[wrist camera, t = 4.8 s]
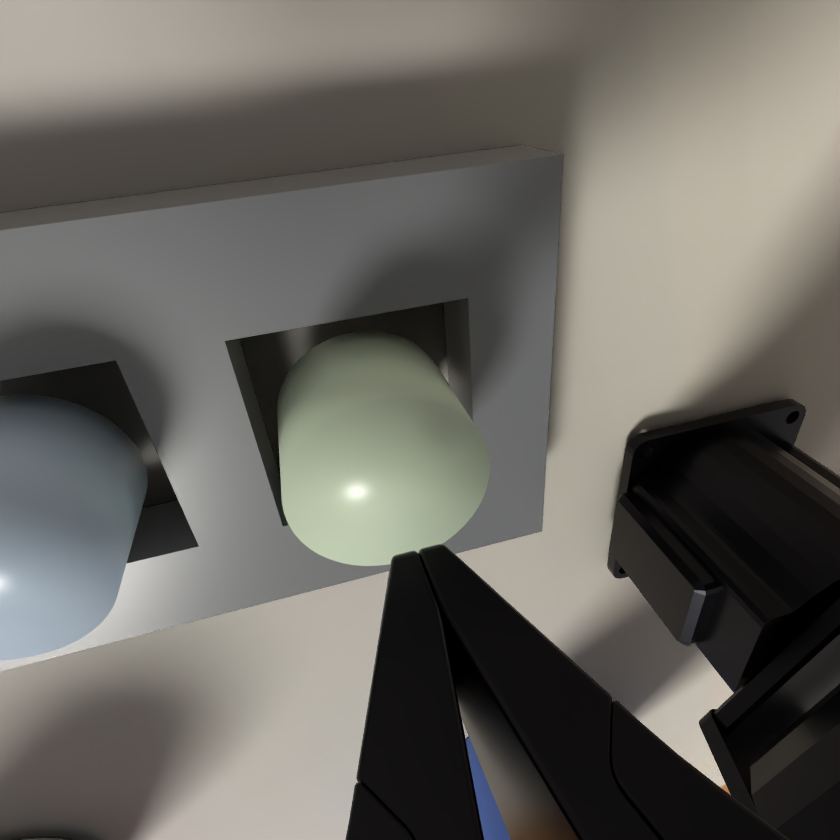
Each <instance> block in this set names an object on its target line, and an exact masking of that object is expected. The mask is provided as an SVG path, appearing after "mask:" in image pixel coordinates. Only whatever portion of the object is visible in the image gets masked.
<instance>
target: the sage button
mask: <svg viewBox="0 0 840 840" xmlns="http://www.w3.org/2000/svg"><path fill="white" fill-rule="evenodd" d="M277 421H278V440H279V458H280V477H281V495H282V506H283V511H284V515H285V517H286V520H287V522H288V525H289V526H290V528H291V529H292V531H293V533H294V534H295V535H296V536H297V537H298V539H299V540H300V541H301V542H302V543H303V544H305V545H306V546H307V547H308V548H309V549H311V550H313V551H314V552H316V553H317V554H319V555H321V556H323V557H326V558H328V559H330V560H333V561H337V562H340V563H345V564H350V565H359V566H379V565H388V564H391V559H392V557H393V556H395V555H397V554H401V553H405V552H409V551H416V552H417V553H418V552H419V550H420V549H422V548H425V547H429V546H433V545H437V544H443V543H444V542H446V541H447V540H448V539H450V538H451V537H452V536H454V535H455V534H456V533H457V532H458V531H459V530H460V529H461V528H462V527H463V526H464V525H465V524H466V523H467V522H468V521H469V520H470V518H471V517H472V516H473V514H474V513H475V511H476V510H477V508H478V507H479V505H480V503H481V501H482V499H483V497H484V494H485V492H486V489H487V485H488V481H489V474H490V461H489V454H488V450H487V447H486V444H485V442H484V440H483V437H482V435H481V434H480V432H479V431H478V429H477V428H476V426H475V425H474V423H473V421H472V420H471V418H470V417H469V415H468V414H467V412H466V410H465V409H464V407H463V406H462V404H461V403H460V401H459V399H458V398H457V396H456V395H455V393H454V392H453V390H452V388H451V387H450V385H449V384H448V382H447V381H446V379H445V378H444V376H443V374H442V373H441V371H440V370H439V368H438V367H437V365H436V364H435V362H434V361H433V359H432V358H431V357H430V356H429V355H428V354H427V353H426V352H425V351H424V350H423V349H422V348H421V347H419V346H418V345H417V344H415V343H413V342H412V341H410V340H408V339H406V338H403V337H401V336H399V335H395V334H391V333H388V332H381V331H357V332H350V333H346V334H342V335H338V336H336V337H333V338H331V339H328V340H326V341H324V342H322V343H320V344H318V345H317V346H315V347H314V348H313V349H311V350H310V351H308V352H307V353H306V354H305V355H304V356H303V357H301V358H300V359H299V360H298V362H297V363H296V364H295V365H294V366H293V367H292V369H291V370H290V372H289V373H288V375H287V377H286V378H285V380H284V383H283V385H282V387H281V390H280V394H279V397H278V404H277Z"/></svg>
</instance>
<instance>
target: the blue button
mask: <svg viewBox="0 0 840 840" xmlns="http://www.w3.org/2000/svg"><path fill="white" fill-rule="evenodd" d="M147 485H148V475H147V470H146V465H145V463H144V460H143V457H142V455H141V453H140V452H139V450H138V448H137V447H136V445H135V444H134V443H133V441H132V440H131V439H130V438H129V437H128V436H127V435H126V434H125V433H124V432H123V431H122V430H121V429H120V428H119V427H118V426H116V425H115V424H114V423H113V422H111V421H110V420H108V419H107V418H105V417H103V416H102V415H100V414H98V413H96V412H94V411H92V410H90V409H88V408H86V407H84V406H81V405H78V404H75V403H73V402H69V401H66V400H62V399H58V398H53V397H47V396H40V395H27V394H24V395H5V396H0V661H1V660H13V659H20V658H27V657H31V656H36V655H41V654H44V653H48V652H51V651H54V650H57V649H60V648H62V647H65V646H67V645H69V644H71V643H73V642H75V641H77V640H79V639H81V638H83V637H84V636H86V635H87V634H88V633H90V632H91V631H93V630H94V629H95V628H96V627H97V626H98V625H100V624H101V623H102V621H103V620H104V619H105V618H106V617H107V616H108V614H109V613H110V611H111V609H112V608H113V606H114V604H115V601H116V598H117V596H118V592H119V588H120V585H121V581H122V578H123V574H124V571H125V567H126V563H127V560H128V556H129V553H130V549H131V546H132V542H133V538H134V535H135V531H136V528H137V524H138V521H139V517H140V513H141V510H142V506H143V503H144V499H145V496H146V491H147Z"/></svg>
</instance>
